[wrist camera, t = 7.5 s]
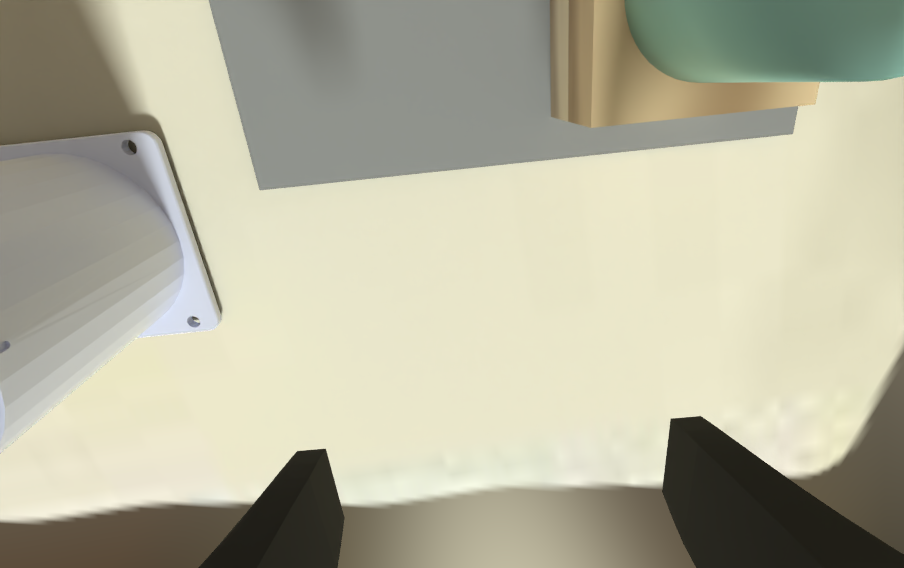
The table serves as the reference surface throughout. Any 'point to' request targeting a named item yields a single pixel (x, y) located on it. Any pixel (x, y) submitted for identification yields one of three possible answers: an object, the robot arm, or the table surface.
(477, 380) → the table surface
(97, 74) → the table surface
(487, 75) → the slate mat
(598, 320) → the table surface
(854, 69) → the green rounded knob
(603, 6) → the oak slab top
